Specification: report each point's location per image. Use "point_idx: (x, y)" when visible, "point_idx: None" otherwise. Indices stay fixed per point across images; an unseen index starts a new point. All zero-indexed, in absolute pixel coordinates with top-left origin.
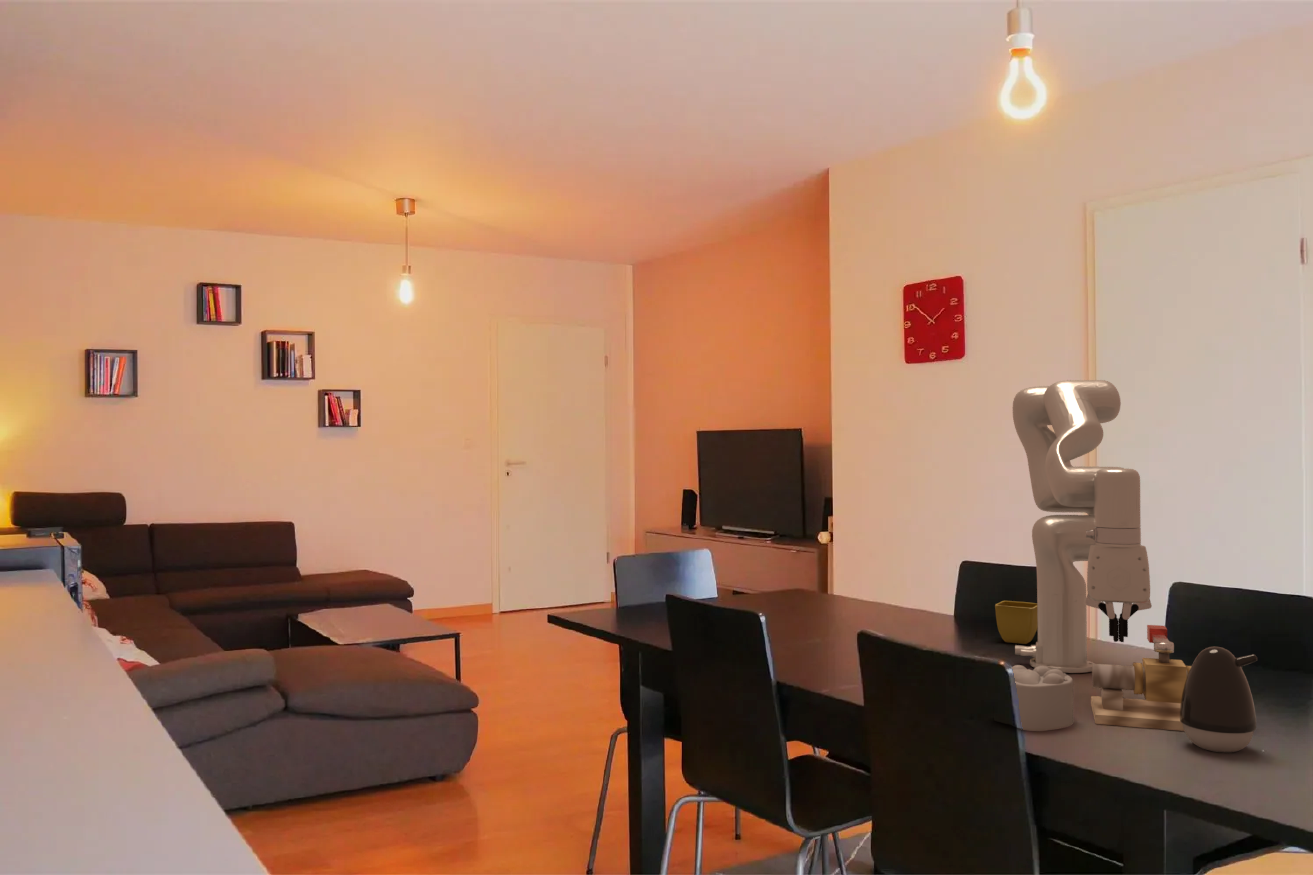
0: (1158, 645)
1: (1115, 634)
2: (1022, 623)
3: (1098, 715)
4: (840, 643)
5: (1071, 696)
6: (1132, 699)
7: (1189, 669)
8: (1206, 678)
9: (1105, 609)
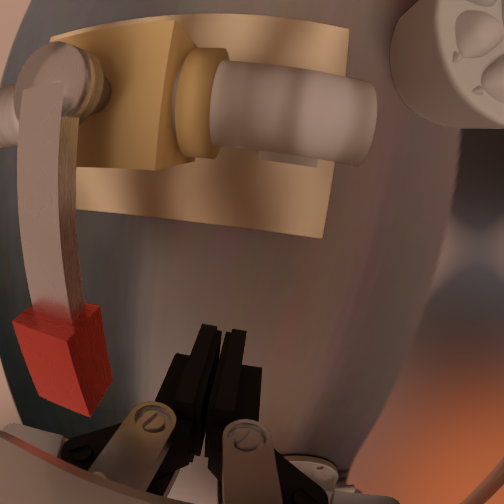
0: (76, 48)
1: (237, 347)
2: None
3: (341, 28)
4: (492, 472)
5: (420, 8)
6: (218, 216)
7: None
8: None
9: (280, 481)
